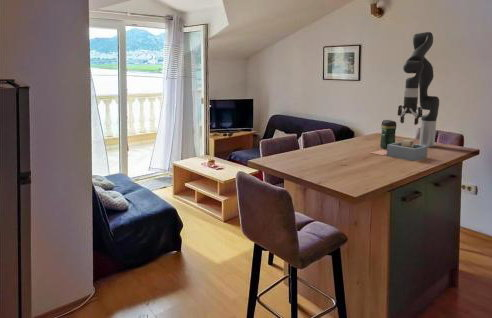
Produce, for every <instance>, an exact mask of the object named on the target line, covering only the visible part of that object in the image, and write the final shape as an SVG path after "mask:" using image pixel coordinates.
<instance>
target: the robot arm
mask: <svg viewBox="0 0 492 318" xmlns="http://www.w3.org/2000/svg"><path fill="white" fill-rule="evenodd" d="M412 43H413V44H412V45H413V49H414V50H413V52H412V54H411V55H410V57H409V58H408V59H407V60H406V61H405V62H404V63H403V67H402V69H403V72H404V73H406V74H415V75H414V76H411V77H407V78H406V79H405V87H404V88H405V89H404V92H403V93H404V95H403V96H404V97H403V105H398V107H397V108H398V109H397V116H399V117H400V118H399V119H400V120H399V121H400V123H401V124H404V123H405V116H406V115H407V114H410V115H412V116H413V117H414V123H413V124H414V126H417V125H418V124H419V120H420V118H421V122H420V131H419V132H420V133H419V143H418V145H424V146H428V148H430V147H431V148H432V147H435V142H436V140H435V139H436V131H437V130H436V128H437V119H438V115H439V109H440V98H439V97H438V96H435V95H428V90H429V86H430V85H431V84H432V81H433V80H434V67H433V65H432V63H431V62H430V61H429V60H428V59H427V58H426V57H425V56H426V55H427V53H428V52H429V51H430V49H431V47H432V46H433V45H434V44H433V43H434V35H433V33H432V32H430V31H426V32H418V33H415V34H413V36H412ZM418 101H419V104H418ZM418 105H419V106H418ZM423 110H424V111H429V112H428V113H427V114H424V115H423Z"/></svg>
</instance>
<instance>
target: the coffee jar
mask: <svg viewBox="0 0 492 318" xmlns="http://www.w3.org/2000/svg"><path fill="white" fill-rule="evenodd" d="M396 129H397V122H396V121H394V120H391V119H384V120H382V121H381V134H380V141H379V142H380V143H379V146H380V148H382V149H385V150H387V145H388V144H393V143H396V131H397V130H396Z"/></svg>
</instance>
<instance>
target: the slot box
mask: <svg viewBox="0 0 492 318" xmlns="http://www.w3.org/2000/svg"><path fill="white" fill-rule="evenodd" d="M401 142H402V141H397V142H395V143H393V144H388V145H387V149H386V151H387V155H386V157H390V158H395V159H400V160H404V161H405V160H407V161H411V162H416V161H420V160H423V159H427V157H428V149H429V147H428V146H424V145H419V143H418V144H417V143H414V146H413V148H409V147H403V146H401Z"/></svg>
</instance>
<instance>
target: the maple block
mask: <svg viewBox="0 0 492 318" xmlns="http://www.w3.org/2000/svg"><path fill="white" fill-rule="evenodd" d="M400 142H401V146H403V147H409V148H413V146H414V144H415V141H414V140H413V139H402V140H401V141H400Z"/></svg>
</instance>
